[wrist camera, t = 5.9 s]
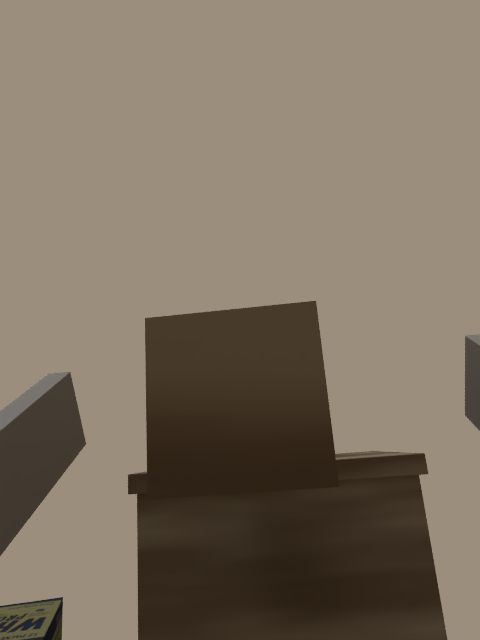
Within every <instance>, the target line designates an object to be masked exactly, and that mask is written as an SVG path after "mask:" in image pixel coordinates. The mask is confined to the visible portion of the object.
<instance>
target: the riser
mask: <svg viewBox="0 0 480 640" xmlns="http://www.w3.org/2000/svg"><path fill="white" fill-rule="evenodd" d="M335 458H336V466H337V474H338V482H339V487H331V488H316V489H301V490H286V491H271V492H256V493H241V494H226V495H211V496H196V497H181V498H165V499H150V500H148V496H147V472H142V473H137V474H130V475H128V494H137V519H138V520H137V522H138V524H137V525H138V526H137V527H138V640H447V636H446V630H445V624H444V618H443V612H442V606H441V601H440V595H439V589H438V583H437V578H436V572H435V566H434V560H433V554H432V548H431V543H430V537H429V531H428V525H427V519H426V514H425V508H424V502H423V497H422V490H421V485H420V479H419V475H421V474H428V470H427V464H426V459H425V454H423V453H399V452H378V451H370V452H356V453H342V454H335Z"/></svg>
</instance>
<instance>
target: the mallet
mask: <svg viewBox="0 0 480 640" xmlns="http://www.w3.org/2000/svg"><path fill="white" fill-rule="evenodd" d="M145 345H146V418H147V419H146V421H147V496H148V500H150V499H165V498H181V497H196V496H211V495H226V494H241V493H256V492H271V491H286V490H301V489H316V488H331V487H339V482H338V474H337V466H336V458H335V450H334V442H333V434H332V426H331V418H330V410H329V402H328V394H327V386H326V378H325V370H324V362H323V354H322V346H321V338H320V330H319V323H318V314H317V306H316V301H310V302H301V303H291V304H281V305H272V306H261V307H251V308H241V309H231V310H221V311H212V312H202V313H192V314H183V315H172V316H163V317H153V318H145Z"/></svg>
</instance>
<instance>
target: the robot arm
mask: <svg viewBox="0 0 480 640" xmlns="http://www.w3.org/2000/svg"><path fill="white" fill-rule="evenodd" d="M465 415H466V416H467V418H468V419H469V420H470V421H471V422H472V423H473V424H474V425H475V426H476V427H477V428H478V429H479V430H480V335H469V336H465ZM85 445H86V442H85V437H84V433H83V428H82V424H81V419H80V415H79V411H78V405H77V401H76V397H75V392H74V387H73V383H72V378H71V374H70V372H65V373H54V374H48V375H47V376H46V377H44V378H43V379H42V380H40V381H39V382H38V383H36V384H35V385H34V386H33V387H31V388H30V389H29V390H27V391H26V392H25V393H23V394H22V395H21V396H20V397H18V398H17V399H16V400H14V401H13V402H12V403H11V404H9V405H8V406H7V407H5V408H4V409H3V410H1V411H0V556H1V554H2V553H3V552H4V550H5V549H6V548H7V547H8V545H9V544H10V543H11V541H12V540H13V539H14V537H15V536H16V535H17V534H18V532H19V531H20V530H21V528H22V527H23V525H24V524H25V523H26V522H27V520H28V519H29V518H30V517H31V515H32V514H33V513H34V511H35V510H36V509H37V507H38V506H39V505H40V503H41V502H42V501H43V500H44V498H45V497H46V496H47V494H48V493H49V492H50V490H51V489H52V488H53V486H54V485H55V484H56V483H57V481H58V480H59V479H60V477H61V476H62V475H63V473H64V472H65V471H66V469H67V468H68V467H69V466H70V464H71V463H72V462H73V460H74V459H75V458H76V456H77V455H78V454H79V452H80V451H81V450H82V449H83V447H84V446H85Z"/></svg>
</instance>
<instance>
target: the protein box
mask: <svg viewBox="0 0 480 640" xmlns="http://www.w3.org/2000/svg"><path fill="white" fill-rule="evenodd" d="M62 600H63V597H61V598H55V599H49V600H41V601H34V602H27V603H20V604H12V605H5V606H0V640H61V639H62V638H61V637H62V606H63V602H62Z"/></svg>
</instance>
